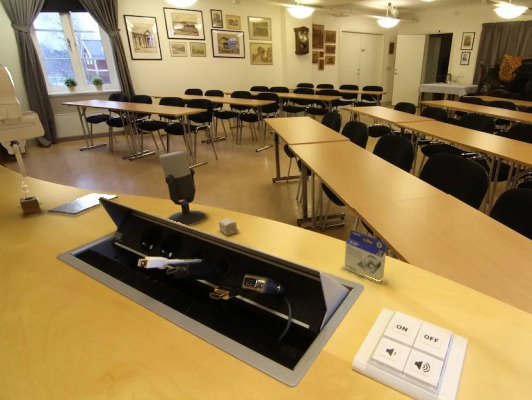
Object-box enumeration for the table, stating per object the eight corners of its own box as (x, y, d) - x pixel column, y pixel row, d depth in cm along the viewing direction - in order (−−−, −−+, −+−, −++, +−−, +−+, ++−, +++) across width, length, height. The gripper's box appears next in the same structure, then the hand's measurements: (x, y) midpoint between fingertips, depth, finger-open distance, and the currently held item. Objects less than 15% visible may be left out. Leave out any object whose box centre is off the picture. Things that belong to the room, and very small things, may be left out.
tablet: (47, 212, 122) (46, 210, 121) (92, 195, 140) (92, 193, 139) (75, 216, 119) (75, 213, 119) (117, 197, 137) (117, 195, 137)
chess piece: (22, 208, 125) (13, 184, 121) (22, 204, 128) (13, 181, 125) (38, 205, 128) (30, 181, 124) (38, 201, 131) (30, 178, 128)
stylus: (21, 177, 116) (11, 144, 111) (25, 176, 117) (15, 144, 113) (24, 178, 115) (14, 145, 111) (28, 177, 117) (18, 144, 112)
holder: (24, 213, 121) (19, 198, 118) (41, 210, 124) (36, 195, 121) (25, 217, 117) (19, 202, 115) (42, 214, 120) (37, 199, 118)
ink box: (343, 268, 89) (345, 231, 85) (348, 265, 91) (350, 228, 87) (379, 285, 82) (383, 246, 78) (384, 281, 84) (388, 242, 80)
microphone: (184, 209, 126) (175, 147, 117) (212, 214, 122) (205, 149, 113) (159, 223, 115) (147, 154, 106) (189, 228, 111) (179, 158, 102)
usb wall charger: (230, 228, 112) (229, 217, 110) (241, 234, 107) (240, 224, 106) (220, 231, 109) (218, 220, 108) (230, 238, 105) (229, 227, 103)
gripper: (29, 109, 118) (39, 146, 123) (-40, 115, 99) (-24, 158, 104) (43, 110, 117) (53, 148, 122) (-24, 116, 98) (-9, 160, 103)
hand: (17, 153), depth 113 cm, fingers closed on stylus, 1 cm apart
